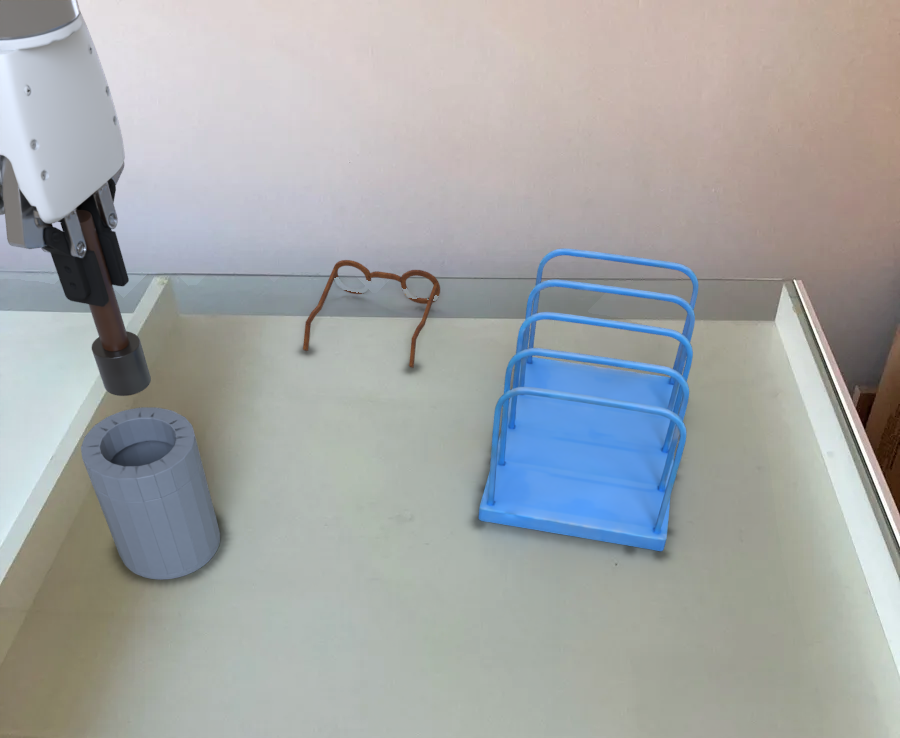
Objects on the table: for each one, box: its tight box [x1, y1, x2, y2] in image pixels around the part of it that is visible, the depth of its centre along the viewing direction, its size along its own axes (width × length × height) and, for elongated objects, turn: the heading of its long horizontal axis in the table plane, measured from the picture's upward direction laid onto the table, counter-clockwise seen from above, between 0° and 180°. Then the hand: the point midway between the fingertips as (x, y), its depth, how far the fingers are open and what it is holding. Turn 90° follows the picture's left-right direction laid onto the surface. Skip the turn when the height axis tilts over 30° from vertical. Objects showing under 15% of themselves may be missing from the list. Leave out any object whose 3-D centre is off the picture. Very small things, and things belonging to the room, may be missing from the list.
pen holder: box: [80, 406, 221, 580], centre depth 79 cm, size 9×9×12 cm
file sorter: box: [477, 248, 700, 552], centre depth 86 cm, size 25×17×15 cm
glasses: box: [302, 259, 441, 369], centre depth 104 cm, size 13×13×5 cm
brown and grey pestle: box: [76, 210, 152, 397], centre depth 67 cm, size 4×4×14 cm
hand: (98, 289), depth 66 cm, fingers closed on brown and grey pestle, 2 cm apart
